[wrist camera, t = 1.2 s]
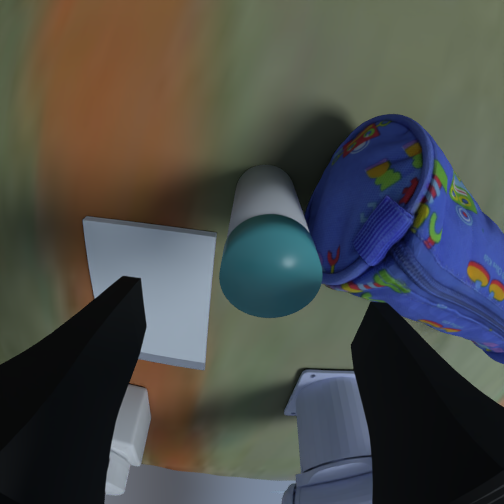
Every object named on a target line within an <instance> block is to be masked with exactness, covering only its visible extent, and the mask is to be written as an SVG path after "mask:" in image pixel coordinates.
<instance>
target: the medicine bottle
mask: <svg viewBox="0 0 504 504" xmlns="http://www.w3.org/2000/svg"><path fill="white" fill-rule="evenodd" d="M150 421H151V414H150V407H149V400H148V393H147V389H146V388H144V387H139V386H135V385H131V384H128V387H127V390H126V393H125V395H124V398H123V401H122V404H121V407H120V410H119V413H118V416H117V420H116V424H115V429H114V434H113V438H112V444H111V449H110V455H109V462H108V468H107V477H106V487H105V494H107V495H121V494H123V493H124V492H125V487H126V483H127V478H128V473H129V469H130V465H133V466H138V467H139V466H140V465H141V462H142V457H143V452H144V448H145V443H146V438H147V434H148V430H149V425H150Z"/></svg>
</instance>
